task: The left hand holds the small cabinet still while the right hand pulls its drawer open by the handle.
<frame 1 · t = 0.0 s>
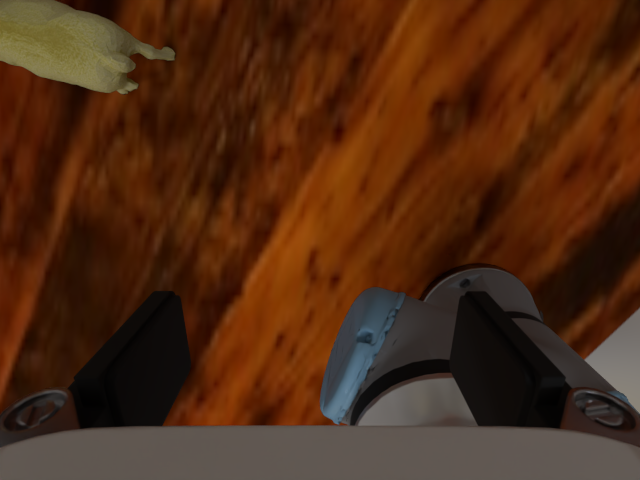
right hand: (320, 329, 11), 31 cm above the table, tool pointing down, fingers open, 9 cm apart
toy: (93, 50, 36), on the table
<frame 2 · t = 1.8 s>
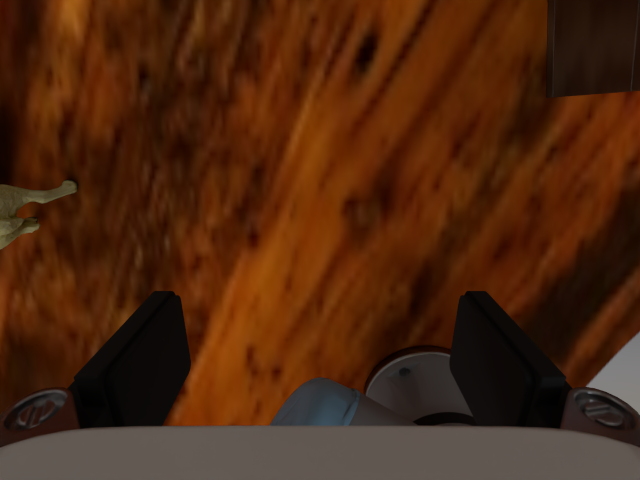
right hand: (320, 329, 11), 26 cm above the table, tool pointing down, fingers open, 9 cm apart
cabinet: (605, 4, 31), on the table
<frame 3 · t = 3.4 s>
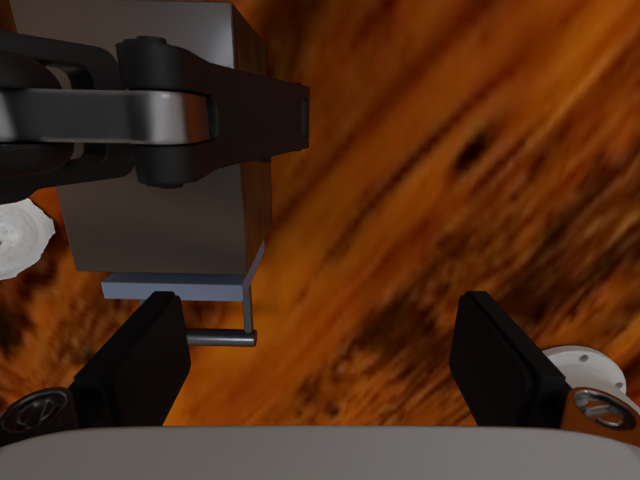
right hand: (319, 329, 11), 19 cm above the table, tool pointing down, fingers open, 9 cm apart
drawer: (192, 230, 25), point 5 cm above the table, slide at 1.2 cm
seashell: (17, 222, 30), on the table
cabinet: (207, 140, 28), on the table, touching left hand
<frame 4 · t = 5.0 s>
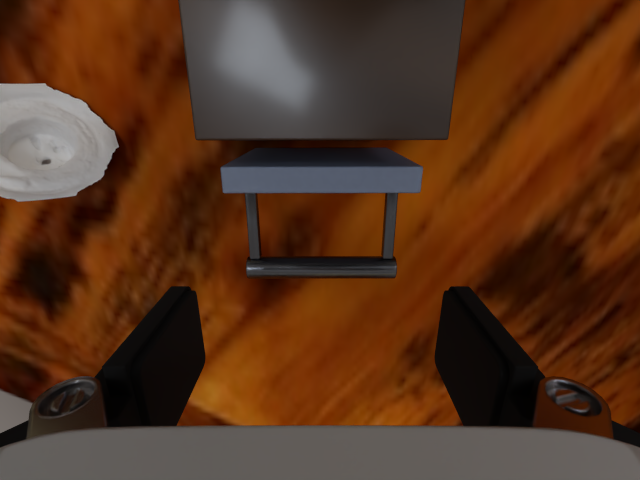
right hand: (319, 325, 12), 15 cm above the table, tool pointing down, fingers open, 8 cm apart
drawer: (321, 115, 18), point 5 cm above the table, slide at 1.2 cm
seashell: (69, 137, 24), on the table
cabinet: (321, 12, 21), on the table, touching left hand
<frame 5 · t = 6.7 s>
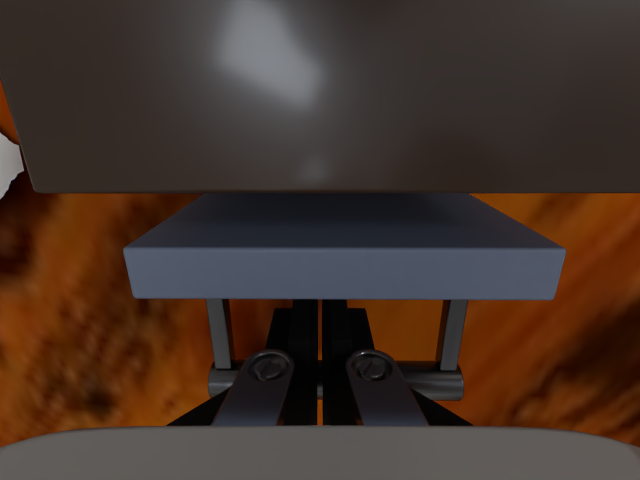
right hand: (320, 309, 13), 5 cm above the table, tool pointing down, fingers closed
drawer: (337, 129, 10), point 5 cm above the table, slide at 1.3 cm, touching right hand
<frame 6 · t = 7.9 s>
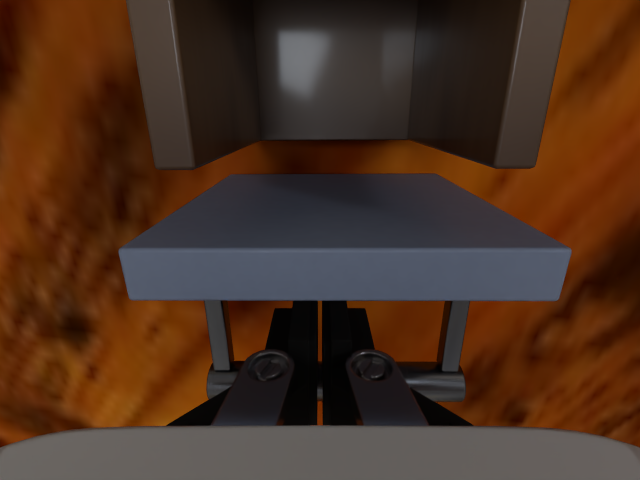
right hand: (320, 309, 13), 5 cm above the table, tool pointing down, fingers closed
drawer: (336, 128, 10), point 5 cm above the table, slide at 6.7 cm, touching right hand
when the left hand's fingers open (6 cm above the table, at t = 9.7 s): cabinet stays where it is, on the table.
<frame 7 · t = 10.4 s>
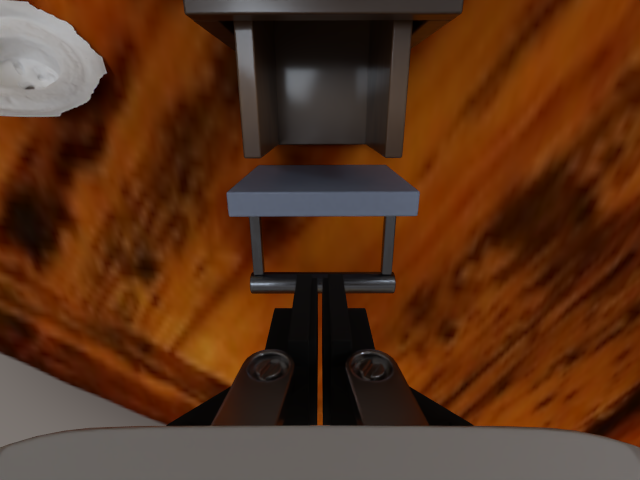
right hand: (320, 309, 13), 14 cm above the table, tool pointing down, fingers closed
drawer: (322, 138, 19), point 5 cm above the table, slide at 6.8 cm
seashell: (54, 65, 23), on the table
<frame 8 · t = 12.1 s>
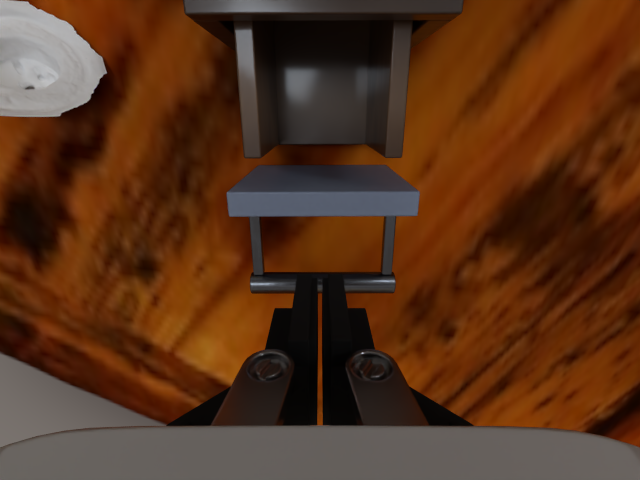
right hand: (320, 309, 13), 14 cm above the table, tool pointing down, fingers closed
drawer: (322, 138, 19), point 5 cm above the table, slide at 6.8 cm
seashell: (54, 65, 23), on the table
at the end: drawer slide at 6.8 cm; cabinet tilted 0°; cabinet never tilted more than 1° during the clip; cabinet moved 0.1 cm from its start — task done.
